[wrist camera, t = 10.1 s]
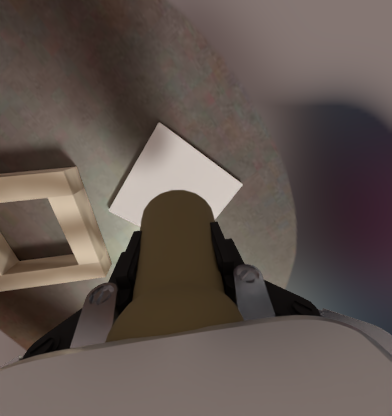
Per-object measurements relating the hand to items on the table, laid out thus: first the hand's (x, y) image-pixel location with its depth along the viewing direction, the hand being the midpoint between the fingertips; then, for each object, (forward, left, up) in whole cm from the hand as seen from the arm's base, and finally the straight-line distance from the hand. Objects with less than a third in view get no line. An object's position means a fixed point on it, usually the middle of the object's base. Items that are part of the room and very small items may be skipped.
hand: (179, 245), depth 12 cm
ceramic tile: (0, 0, -11) cm, 11 cm away
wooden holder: (-13, +12, -11) cm, 21 cm away
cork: (0, 0, -3) cm, 3 cm away
